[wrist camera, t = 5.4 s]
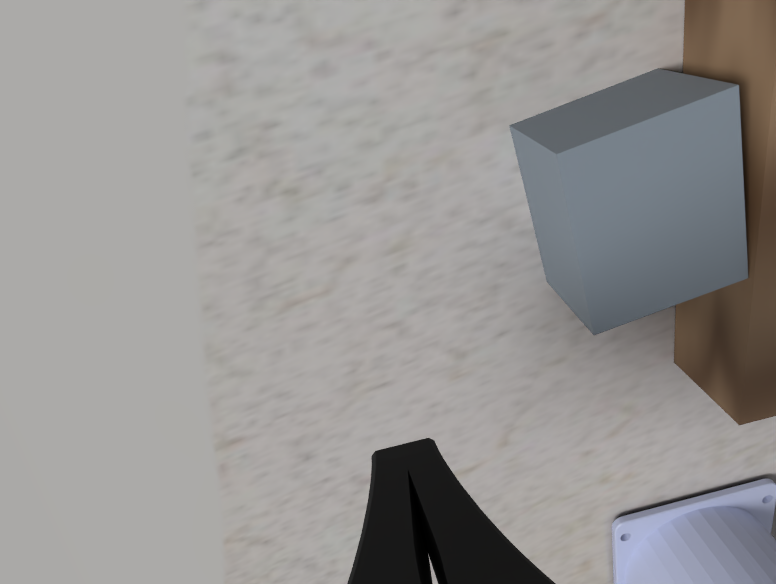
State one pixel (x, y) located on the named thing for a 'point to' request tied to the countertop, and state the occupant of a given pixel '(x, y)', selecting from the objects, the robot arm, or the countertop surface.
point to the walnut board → (762, 214)
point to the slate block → (637, 195)
